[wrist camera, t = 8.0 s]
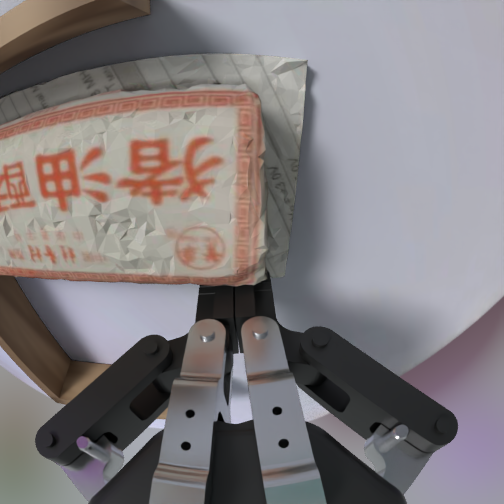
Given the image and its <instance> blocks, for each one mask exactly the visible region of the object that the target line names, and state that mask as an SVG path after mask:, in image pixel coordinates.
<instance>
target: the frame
mask: <svg viewBox="0 0 504 504" xmlns="http://www.w3.org/2000/svg"><path fill="white" fill-rule="evenodd" d="M146 15H150V0H26V1H24V2H22V3H21V4H19V5H18V6H16V7H14V8H13V9H11V10H10V11H8V12H7V13H5V14H4V15H2V16H1V17H0V74H1V73H3V72H5V71H6V70H8V69H10V68H11V67H13V66H15V65H17V64H19V63H20V62H22V61H24V60H26V59H28V58H30V57H32V56H34V55H36V54H38V53H40V52H42V51H44V50H46V49H48V48H50V47H53V46H55V45H57V44H59V43H62V42H64V41H67V40H69V39H72V38H74V37H77V36H79V35H82V34H85V33H87V32H90V31H93V30H96V29H99V28H102V27H105V26H108V25H112V24H115V23H118V22H122V21H126V20H129V19H133V18H137V17H141V16H146ZM0 346H1V347H2V348H3V350H4V351H5V352H6V353H7V354H8V355H9V356H10V358H11V359H12V360H13V361H14V362H15V363H16V364H17V365H18V366H19V367H20V368H21V369H22V370H23V371H24V372H25V373H26V375H27V376H28V377H29V378H30V379H31V380H32V381H34V382H35V383H36V384H37V385H38V386H39V387H40V388H41V389H42V390H43V391H44V392H45V393H46V394H47V395H48V396H50V397H51V398H52V399H53V400H54V401H55V402H57V403H61V404H65V405H67V404H68V403H69V402H70V401H71V400H72V399H73V398H75V397H76V396H77V395H78V394H79V393H80V392H81V391H83V390H84V389H85V388H86V387H87V386H88V385H89V384H90V383H92V382H93V381H94V380H95V379H96V378H97V377H98V376H100V375H101V374H102V373H103V372H104V371H105V370H106V369H108V368H109V367H110V366H111V365H109V364H99V363H89V362H81V361H73V360H71V359H70V358H69V357H68V356H67V354H66V353H65V352H64V351H63V349H62V348H61V347H60V345H59V344H58V343H57V342H56V340H55V339H54V338H53V336H52V335H51V333H50V332H49V331H48V329H47V328H46V326H45V325H44V324H43V322H42V321H41V319H40V318H39V316H38V315H37V313H36V312H35V310H34V309H33V307H32V306H31V304H30V303H29V301H28V299H27V298H26V296H25V295H24V293H23V291H22V290H21V288H20V286H19V285H18V283H17V281H16V279H15V278H14V276H9V275H0ZM167 411H168V408H167V409H166V410H165V411H164V412H163V413H162V414H161V415H160V416H159V417H158V418H157V419H166V416H167Z"/></svg>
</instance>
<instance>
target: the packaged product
mask: <svg viewBox="0 0 504 504" xmlns="http://www.w3.org/2000/svg"><path fill="white" fill-rule="evenodd" d="M307 61H308V60H302V59H294V58H286V57H276V56H265V55H250V54H187V55H175V56H165V57H156V58H148V59H141V60H135V61H129V62H123V63H118V64H113V65H108V66H103V67H99V68H95V69H90V70H85V71H79V72H76V73H72V74H69V75H65V76H62V77H59V78H56V79H53V80H51V81H49V82H48V83H47V82H44V83H41V84H37V85H35V86H32V87H29V88H27V89H24V90H21V91H16V92H14V93H11V94H9V95H7V96H4V97H2V98H0V275H9V276H14V277H29V278H35V277H36V278H41V279H64V280H69V281H94V282H132V283H139V284H187V283H192V284H198V285H209V286H222V285H228V286H241V285H245V284H246V285H256V284H257V283H259V282H261V281H263V280H266V279H267V270H268V271H269V273H270V277H273V278H282V277H284V276H285V268H286V262H287V256H288V251H289V238H290V233H291V227H292V219H293V210H294V202H295V193H296V185H297V176H298V166H299V154H300V143H301V135H302V127H303V114H304V101H305V83H306V72H307Z"/></svg>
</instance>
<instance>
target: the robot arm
mask: <svg viewBox="0 0 504 504" xmlns="http://www.w3.org/2000/svg"><path fill="white" fill-rule="evenodd" d="M238 340H239V348H240V353H244V359H245V368H246V375H247V382H248V389H249V396H250V403H251V410H252V418H253V420H250V421H247V422H243V423H240V424H231V415H230V404H231V390H232V376H233V354H235V353H239V349H238ZM296 384H297V385H298V387H299V388H301V389H302V390H303V391H304V392H305V393H307V394H308V395H309V396H310V397H311V398H313V399H314V400H315V401H316V402H318V403H319V404H320V405H321V406H323V407H324V408H325V409H326V410H328V411H329V412H330V413H331V414H333V415H334V416H335V417H337V418H338V419H339V420H341V421H342V422H343V423H345V424H346V425H347V426H348V427H350V428H351V429H352V430H354V431H355V432H356V433H358V434H359V435H360V436H362V437H363V438H364V439H366V442H365V445H364V451H365V455H366V457H367V458H368V459H369V460H370V461H371V462H372V464H373V465H374V468H375V471H374V470H372V469H371V468H370V467H368V466H367V465H366V464H365V463H363V462H362V461H361V460H360V459H358V458H357V457H356V456H355V455H353V454H352V453H351V452H350V451H349V450H347V449H346V448H345V447H344V446H342V445H341V444H340V443H339V442H338V441H336V440H335V439H334V438H333V437H332V436H331V435H329V434H328V433H327V432H326V431H324V430H323V429H321V428H320V427H318V426H316V425H314V424H311V423H309V422H305V419H304V415H303V411H302V407H301V403H300V399H299V395H298V391H297V386H296ZM167 408H168V411H167V416H166V422H165V428H164V429H163V430H162V431H160V432H158V433H157V434H156V435H154V436H153V437H152V438H151V439H150V440H149V441H148V442H147V443H146V444H145V446H144V447H143V448H142V449H141V450H140V451H139V452H138V453H137V454H136V455H135V456H134V457H133V458H132V459H131V460H130V461H129V462H128V463H127V464H126V465H125V466H124V467H123V468H122V469H121V470H120V468H121V467H122V466H123V462H124V455H123V452H122V451H123V450H124V449H125V448H126V447H127V446H128V445H129V444H131V443H132V442H133V441H134V440H135V439H136V438H137V437H138V436H139V435H140V434H141V433H142V432H143V431H144V430H145V429H146V428H147V427H148V426H149V425H150V424H151V423H152V422H153V421H154V420H156V419H157V418H158V417H159V416H160V415H161V414H162V413H163V412H164V411H165V410H166V409H167ZM457 430H458V423H457V419H456V417H455V416H454V414H453V413H452V412H451V411H449V410H447V409H446V408H445V407H443V406H442V405H440V404H438V403H437V402H436V401H434V400H433V399H431V398H430V397H428V396H427V395H425V394H424V393H422V392H421V391H419V390H418V389H416V388H415V387H413V386H412V385H410V384H409V383H407V382H406V381H404V380H403V379H401V378H400V377H399V376H397V375H396V374H394V373H393V372H391V371H390V370H388V369H387V368H385V367H384V366H382V365H381V364H380V363H378V362H377V361H375V360H374V359H372V358H371V357H369V356H368V355H366V354H365V353H364V352H362V351H361V350H359V349H358V348H356V347H355V346H353V345H352V344H351V343H349V342H348V341H346V340H345V339H343V338H342V337H341V336H339V335H338V334H336V333H335V332H333V331H332V330H330V329H328V328H326V327H312V328H310V329H308V330H306V331H305V332H304V333H300V332H294V331H290V330H288V329H286V328H284V327H282V326H281V325H280V324H279V322H278V321H277V319H276V314H275V307H274V300H273V293H272V286H271V279H270V273H269V271H268V270H267V279H266V280H263V281H261V282H259V283H257V284H256V285H246V284H245V285H241V286H228V285H222V286H209V285H200V288H199V295H198V303H197V312H196V321H195V324H194V325H193V326H192V327H191V328H190V330H189V333H187V334H186V335H184V336H182V337H179V338H176V339H173V340H170V341H167V340H166V339H165V338H164V337H162V336H160V335H149V336H146V337H144V338H142V339H141V340H140V341H138V342H137V343H136V344H135V345H134V346H133V347H132V348H130V349H129V350H128V351H127V352H126V353H125V354H124V355H122V356H121V357H120V358H119V359H118V360H117V361H116V362H114V363H113V364H112V365H111V366H110V367H109V368H108V369H106V370H105V371H104V372H103V373H102V374H101V375H100V376H98V377H97V378H96V379H95V380H94V381H93V382H92V383H90V384H89V385H88V386H87V387H86V388H85V389H84V390H83V391H81V392H80V393H79V394H78V395H77V396H76V397H75V398H73V399H72V400H71V401H70V402H69V403H68V404H67V405H66V406H64V407H63V408H62V409H61V410H60V411H59V412H58V413H57V414H55V415H54V416H53V417H52V418H51V419H50V420H49V421H48V422H46V423H45V424H44V425H43V426H42V427H41V428H40V429H39V430H38V432H37V434H36V438H35V443H36V447H37V450H38V451H39V453H40V454H41V455H42V456H44V457H45V458H47V459H49V460H51V461H53V462H55V463H56V464H58V465H59V466H61V468H62V469H63V470H64V472H65V473H66V474H67V476H68V477H69V479H70V480H71V481H72V482H73V484H74V485H75V486H76V488H77V489H78V490H79V491H80V493H81V494H82V495H83V496H84V497H85V499H86V500H87V501H88V502H89V503H88V504H407V502H406V499H405V497H404V493H405V492H406V491H407V490H408V488H409V487H410V486H411V484H412V483H413V482H414V480H415V479H416V477H417V476H418V475H419V473H420V472H421V470H422V469H423V467H424V466H425V464H426V463H427V462H428V460H429V458H430V457H431V455H432V454H433V453H434V452H435V451H436V450H438V449H440V448H442V447H443V446H445V445H447V444H448V443H450V442H451V441H452V440H453V439H454V438H455V436H456V434H457ZM119 470H120V471H119ZM118 471H119V472H118Z"/></svg>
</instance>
